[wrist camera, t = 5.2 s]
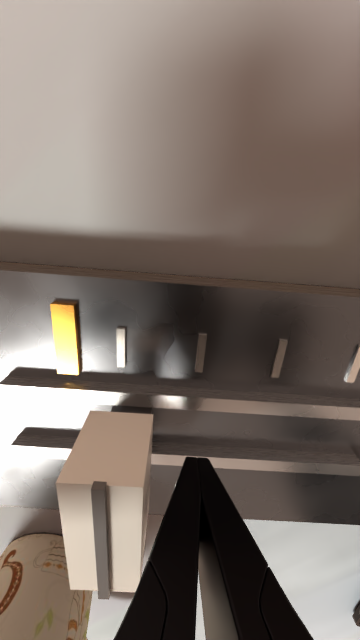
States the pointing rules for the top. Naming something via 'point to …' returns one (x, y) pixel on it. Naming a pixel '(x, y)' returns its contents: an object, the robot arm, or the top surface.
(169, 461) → the console board
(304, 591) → the top surface
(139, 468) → the fader tab
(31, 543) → the mug
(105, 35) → the top surface
